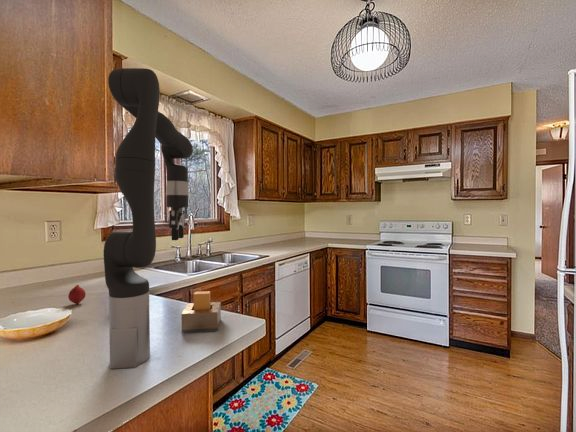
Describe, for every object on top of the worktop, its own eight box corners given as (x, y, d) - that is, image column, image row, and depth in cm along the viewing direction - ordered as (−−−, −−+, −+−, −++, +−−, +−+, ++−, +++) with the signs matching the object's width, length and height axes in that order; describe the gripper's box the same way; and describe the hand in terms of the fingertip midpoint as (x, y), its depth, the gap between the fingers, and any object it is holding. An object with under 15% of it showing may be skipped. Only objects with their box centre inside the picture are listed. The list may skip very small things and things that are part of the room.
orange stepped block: (209, 323, 100) (209, 293, 100) (193, 324, 100) (193, 294, 100) (210, 320, 103) (210, 291, 103) (195, 321, 103) (195, 291, 103)
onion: (76, 306, 123) (76, 286, 123) (64, 305, 124) (64, 286, 124) (89, 302, 129) (88, 283, 129) (77, 301, 130) (77, 282, 130)
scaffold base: (217, 331, 97) (217, 312, 97) (181, 333, 96) (181, 313, 96) (220, 319, 108) (220, 302, 108) (188, 321, 107) (188, 303, 106)
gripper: (184, 193, 104) (184, 240, 104) (191, 195, 118) (192, 237, 118) (161, 193, 103) (161, 241, 103) (171, 195, 117) (171, 237, 117)
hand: (177, 239), depth 111 cm, fingers open, 8 cm apart
